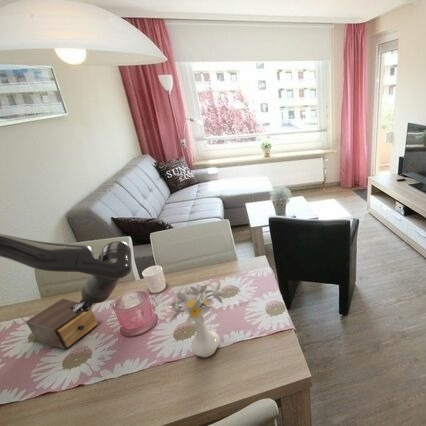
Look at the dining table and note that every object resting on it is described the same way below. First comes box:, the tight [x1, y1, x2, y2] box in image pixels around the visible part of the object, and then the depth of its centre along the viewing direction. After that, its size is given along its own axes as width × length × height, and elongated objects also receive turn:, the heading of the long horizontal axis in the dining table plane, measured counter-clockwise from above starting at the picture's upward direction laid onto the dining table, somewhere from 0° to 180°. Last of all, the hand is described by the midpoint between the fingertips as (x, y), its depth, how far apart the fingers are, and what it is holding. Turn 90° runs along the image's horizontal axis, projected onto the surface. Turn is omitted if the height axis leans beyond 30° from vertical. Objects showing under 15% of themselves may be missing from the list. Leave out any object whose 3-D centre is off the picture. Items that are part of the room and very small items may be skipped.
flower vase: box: [168, 281, 226, 358], centre depth 98 cm, size 13×18×25 cm
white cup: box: [141, 265, 167, 294], centre depth 132 cm, size 8×8×10 cm
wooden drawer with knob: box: [57, 309, 99, 348], centre depth 110 cm, size 15×11×8 cm
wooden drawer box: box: [25, 298, 99, 350], centre depth 110 cm, size 15×13×10 cm
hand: (85, 309), depth 99 cm, fingers closed
